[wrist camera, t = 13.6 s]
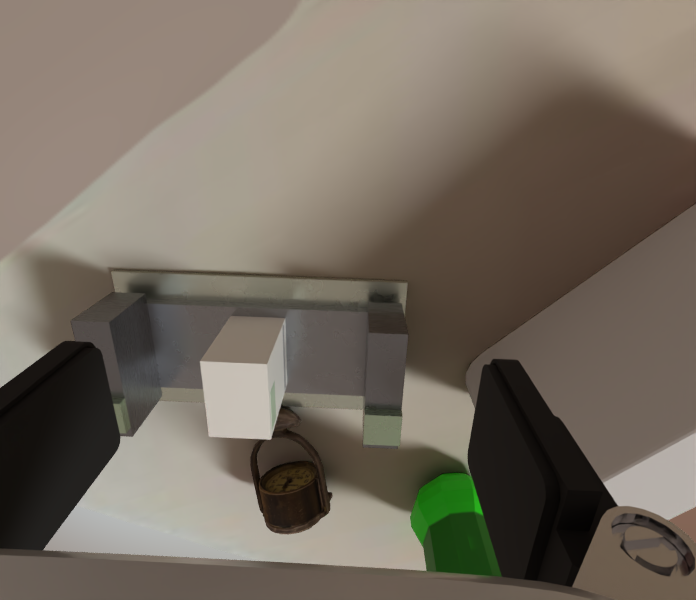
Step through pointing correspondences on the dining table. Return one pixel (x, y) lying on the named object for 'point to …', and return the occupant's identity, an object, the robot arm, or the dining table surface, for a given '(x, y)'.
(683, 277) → the rounded white slab
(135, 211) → the dining table surface
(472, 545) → the plastic bottle
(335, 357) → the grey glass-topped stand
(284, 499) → the brown antique clock
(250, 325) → the block
